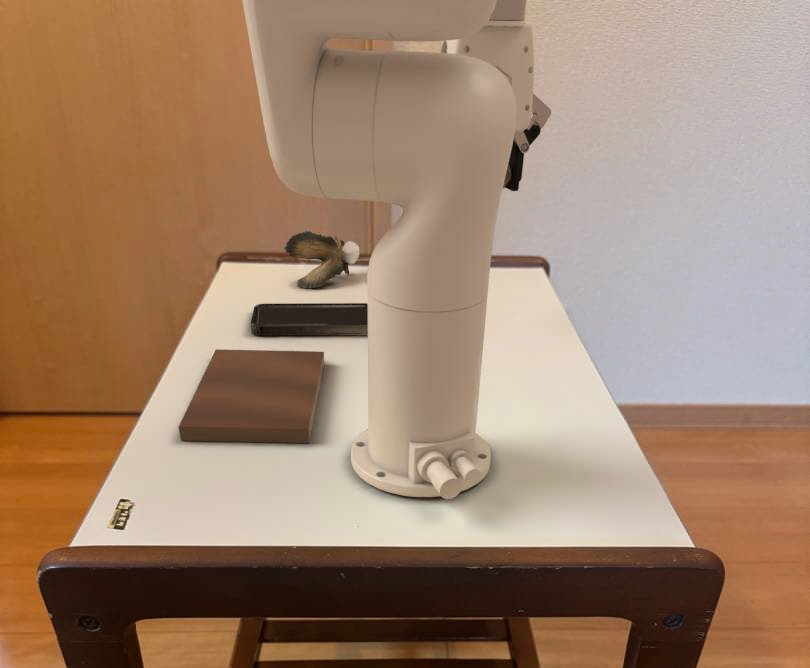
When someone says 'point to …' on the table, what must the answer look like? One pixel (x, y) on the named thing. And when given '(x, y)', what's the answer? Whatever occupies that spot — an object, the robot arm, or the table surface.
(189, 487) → the table surface
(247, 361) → the cutting board
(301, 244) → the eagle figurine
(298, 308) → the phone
